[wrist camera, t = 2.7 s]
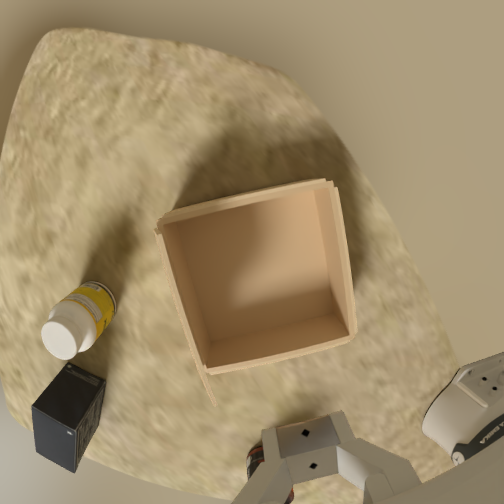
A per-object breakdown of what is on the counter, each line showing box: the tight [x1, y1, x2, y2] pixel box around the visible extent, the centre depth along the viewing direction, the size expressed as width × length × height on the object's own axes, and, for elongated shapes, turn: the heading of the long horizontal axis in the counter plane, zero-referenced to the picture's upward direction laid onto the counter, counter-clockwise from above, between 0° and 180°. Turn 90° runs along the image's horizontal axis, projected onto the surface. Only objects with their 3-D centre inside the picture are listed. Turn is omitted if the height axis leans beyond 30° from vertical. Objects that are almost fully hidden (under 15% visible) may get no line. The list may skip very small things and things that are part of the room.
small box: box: [31, 363, 106, 473], centre depth 30 cm, size 11×6×10 cm, turn 157°
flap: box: [153, 228, 217, 406], centre depth 23 cm, size 6×14×1 cm
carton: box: [156, 178, 357, 375], centre depth 29 cm, size 15×16×6 cm
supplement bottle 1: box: [41, 281, 116, 360], centre depth 28 cm, size 5×5×10 cm
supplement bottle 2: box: [247, 447, 294, 504], centre depth 33 cm, size 6×6×11 cm
